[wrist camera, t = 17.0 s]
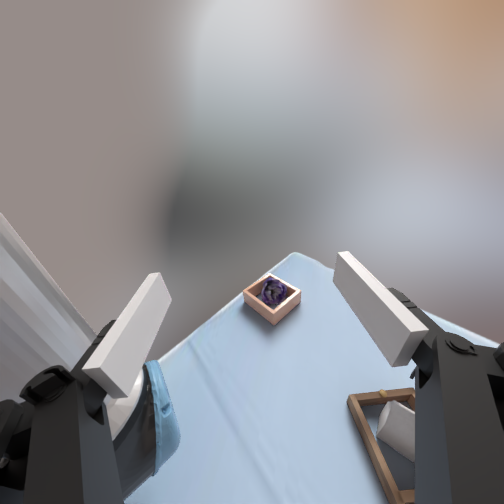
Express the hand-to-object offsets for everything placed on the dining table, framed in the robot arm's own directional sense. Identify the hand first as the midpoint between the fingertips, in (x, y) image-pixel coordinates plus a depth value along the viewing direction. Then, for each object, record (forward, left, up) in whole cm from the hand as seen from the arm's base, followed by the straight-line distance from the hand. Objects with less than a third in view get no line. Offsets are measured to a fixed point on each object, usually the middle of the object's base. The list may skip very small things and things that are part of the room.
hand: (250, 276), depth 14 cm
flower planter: (+25, +23, -38) cm, 51 cm away
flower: (+26, +25, -38) cm, 52 cm away
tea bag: (+17, -15, -38) cm, 44 cm away
